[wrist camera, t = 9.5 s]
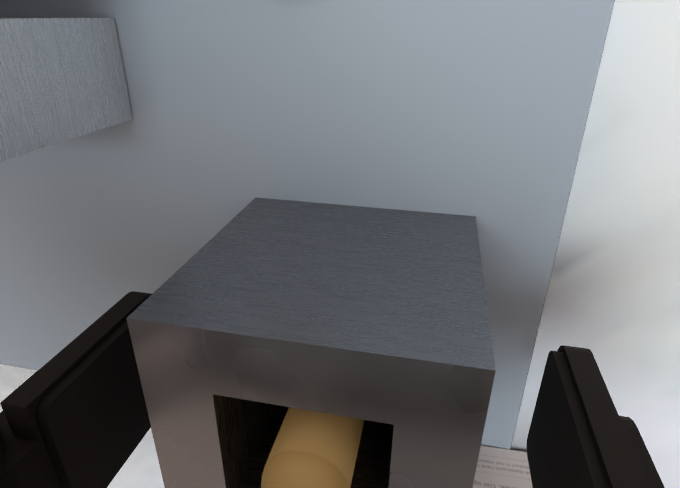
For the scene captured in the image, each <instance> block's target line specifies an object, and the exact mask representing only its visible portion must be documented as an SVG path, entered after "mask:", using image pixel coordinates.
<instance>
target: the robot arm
mask: <svg viewBox="0 0 680 488" xmlns="http://www.w3.org/2000/svg"><path fill="white" fill-rule="evenodd" d="M151 295H152V294H151V293H144V292H136V291H132V292H129V293H127V294H126V295H125V296H124V297H123V298H122V299H120V300H119V301H118V302H117V303H116V304H115V305H113V306H112V307H111V308H110V309H109V310H108V311H106V312H105V313H104V314H103V315H102V316H101V317H100V318H98V319H97V320H96V321H95V322H94V323H93V324H91V325H90V326H89V327H88V328H87V329H86V330H84V331H83V332H82V333H81V334H80V335H79V336H77V337H76V338H75V339H74V340H73V341H72V342H70V343H69V344H68V345H67V346H66V347H65V348H64V349H62V350H61V351H60V352H59V353H58V354H57V355H55V356H54V357H53V358H52V359H51V360H50V361H48V362H47V363H46V364H45V365H44V366H43V367H41V368H40V369H39V370H38V371H37V372H36V373H34V374H33V375H32V376H31V377H30V378H29V379H28V380H26V381H25V382H24V383H23V384H22V385H21V386H19V387H18V388H17V389H16V390H15V391H14V392H12V393H11V394H10V395H9V396H8V397H7V398H5V399H4V400H3V401H2V402H1V403H0V404H1V406H2V409H3V411H2V412H1V413H0V488H107V486H108V485H109V484H110V482H111V481H112V480H113V478H114V477H115V475H116V474H117V473H118V471H119V470H120V469H121V467H122V466H123V464H124V463H125V462H126V460H127V459H128V458H129V456H130V455H131V453H132V452H133V451H134V449H135V448H136V447H137V445H138V444H139V442H140V441H141V440H142V438H143V437H144V436H145V434H146V433H147V431H148V430H149V429H150V427H151V424H150V420H149V416H148V411H147V407H146V402H145V398H144V394H143V389H142V385H141V380H140V376H139V372H138V367H137V363H136V358H135V354H134V350H133V345H132V341H131V336H130V332H129V328H128V323H127V319H126V318H127V317H128V316H129V315H130V314H131V313H132V312H134V311H135V310H136V309H137V308H138V307H139V306H140V305H141V304H142V303H143V302H144V301H145V300H146V299H147V298H149V297H150V296H151ZM527 458H528V464H529V469H530V475H531V481H532V486H533V488H664V485H663V483H662V481H661V479H660V477H659V474H658V472H657V470H656V468H655V466H654V463H653V461H652V459H651V457H650V455H649V452H648V450H647V448H646V446H645V444H644V441H643V439H642V437H641V435H640V433H639V431H638V428H637V426H636V425H635V423H634V421H633V420H632V419H630V418H629V417H623V416H618V413H617V411H616V408H615V406H614V404H613V401H612V399H611V397H610V394H609V392H608V390H607V387H606V385H605V382H604V380H603V378H602V375H601V373H600V371H599V368H598V366H597V363H596V361H595V359H594V356H593V354H592V352H591V350H589V349H586V348H578V347H570V346H560V347H559V349H558V352H557V351H550V352H549V355H548V358H547V362H546V366H545V370H544V374H543V378H542V382H541V386H540V390H539V394H538V398H537V402H536V406H535V410H534V414H533V418H532V422H531V426H530V430H529V434H528V438H527Z"/></svg>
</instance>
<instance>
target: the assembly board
mask: <svg viewBox="0 0 680 488" xmlns="http://www.w3.org/2000/svg"><path fill="white" fill-rule="evenodd" d="M614 1H615V0H0V17H69V18H114V19H115V25H116V30H117V36H118V41H119V47H120V52H121V58H122V63H123V69H124V74H125V80H126V85H127V90H128V96H129V101H130V107H131V112H132V118H133V119H131V120H128V121H125V122H122V123H119V124H116V125H113V126H110V127H107V128H104V129H100V130H97V131H94V132H91V133H88V134H85V135H82V136H79V137H76V138H73V139H70V140H67V141H64V142H60V143H57V144H54V145H51V146H48V147H45V148H42V149H39V150H36V151H33V152H30V153H27V154H24V155H21V156H17V157H14V158H11V159H8V160H5V161H2V162H0V364H4V365H10V366H16V367H22V368H28V369H34V370H39V369H40V368H41V367H43V366H44V365H45V364H46V363H47V362H48V361H50V360H51V359H52V358H53V357H54V356H55V355H57V354H58V353H59V352H60V351H61V350H62V349H64V348H65V347H66V346H67V345H68V344H69V343H70V342H72V341H73V340H74V339H75V338H76V337H77V336H79V335H80V334H81V333H82V332H83V331H84V330H86V329H87V328H88V327H89V326H90V325H91V324H93V323H94V322H95V321H96V320H97V319H98V318H100V317H101V316H102V315H103V314H104V313H105V312H106V311H108V310H109V309H110V308H111V307H112V306H113V305H115V304H116V303H117V302H118V301H119V300H120V299H122V298H123V297H124V296H125V295H126V294H127V293H129V292H132V291H136V292H144V293H151V294H153V293H154V292H155V291H156V290H157V289H158V288H159V287H160V286H161V285H162V284H163V283H165V282H166V281H167V280H168V279H169V278H170V277H171V276H172V275H173V274H174V273H175V272H176V271H177V270H178V269H180V268H181V267H182V266H183V265H184V264H185V263H186V262H187V261H188V260H189V259H190V258H191V257H192V256H193V255H195V254H196V253H197V252H198V251H199V250H200V249H201V248H202V247H203V246H204V245H205V244H206V243H207V242H208V241H209V240H211V239H212V238H213V237H214V236H215V235H216V234H217V233H218V232H219V231H220V230H221V229H222V228H223V227H224V226H226V225H227V224H228V223H229V222H230V221H231V220H232V219H233V218H234V217H235V216H236V215H237V214H238V213H239V212H241V211H242V210H243V209H244V208H245V207H246V206H247V205H248V204H249V203H250V202H251V201H252V200H253V199H254V198H255V197H256V198H268V199H280V200H291V201H303V202H315V203H326V204H338V205H350V206H362V207H373V208H385V209H397V210H408V211H420V212H432V213H444V214H455V215H467V216H476V223H477V231H478V238H479V246H480V254H481V261H482V269H483V277H484V285H485V292H486V300H487V308H488V316H489V323H490V331H491V339H492V346H493V354H494V362H495V370H496V371H495V376H494V381H493V386H492V391H491V396H490V402H489V407H488V412H487V417H486V422H485V427H484V432H483V437H482V442H481V444H482V445H488V446H494V447H500V448H506V449H510V448H511V444H512V440H513V435H514V431H515V427H516V422H517V418H518V414H519V410H520V405H521V401H522V397H523V392H524V388H525V384H526V379H527V375H528V371H529V367H530V362H531V358H532V354H533V349H534V345H535V341H536V336H537V332H538V328H539V324H540V319H541V315H542V311H543V306H544V302H545V298H546V293H547V289H548V285H549V281H550V276H551V272H552V268H553V263H554V259H555V255H556V250H557V246H558V242H559V238H560V233H561V229H562V225H563V220H564V216H565V212H566V207H567V203H568V199H569V195H570V190H571V186H572V182H573V177H574V173H575V169H576V164H577V160H578V156H579V152H580V147H581V143H582V139H583V134H584V130H585V126H586V121H587V117H588V113H589V108H590V104H591V100H592V96H593V91H594V87H595V83H596V78H597V74H598V70H599V65H600V61H601V57H602V53H603V48H604V44H605V40H606V35H607V31H608V27H609V22H610V18H611V14H612V10H613V5H614ZM363 425H364V420H363V419H357V418H351V417H345V416H339V415H333V414H327V413H321V412H315V411H310V410H304V409H298V408H292V407H289V408H288V411H287V413H286V416H285V418H284V420H283V423H282V425H281V428H280V430H279V433H278V435H277V437H276V440H275V442H274V445H273V447H272V450H271V452H270V455H269V457H268V459H267V462H266V464H265V467H264V470H263V474H262V479H261V488H350V487H351V482H352V477H353V472H354V468H355V463H356V458H357V453H358V449H359V444H360V439H361V434H362V430H363Z"/></svg>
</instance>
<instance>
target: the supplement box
mask: <svg viewBox="0 0 680 488" xmlns="http://www.w3.org/2000/svg"><path fill="white" fill-rule="evenodd" d="M472 488H533V486H532V481H531V475H530V469H529V464H528V458H527V452H524V451H517V450H509V449H502V448H495V447H487V446H481V447H480V452H479V457H478V462H477V467H476V472H475V477H474V482H473V487H472Z"/></svg>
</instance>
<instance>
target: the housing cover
mask: <svg viewBox="0 0 680 488" xmlns="http://www.w3.org/2000/svg"><path fill="white" fill-rule="evenodd" d="M131 119H133V118H132V112H131V107H130V101H129V96H128V90H127V85H126V80H125V74H124V69H123V63H122V58H121V52H120V47H119V41H118V36H117V30H116V25H115V19H114V18H69V17H0V162H2V161H5V160H8V159H11V158H14V157H17V156H21V155H24V154H27V153H30V152H33V151H36V150H39V149H42V148H45V147H48V146H51V145H54V144H57V143H60V142H64V141H67V140H70V139H73V138H76V137H79V136H82V135H85V134H88V133H91V132H94V131H97V130H100V129H104V128H107V127H110V126H113V125H116V124H119V123H122V122H125V121H128V120H131Z"/></svg>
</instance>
